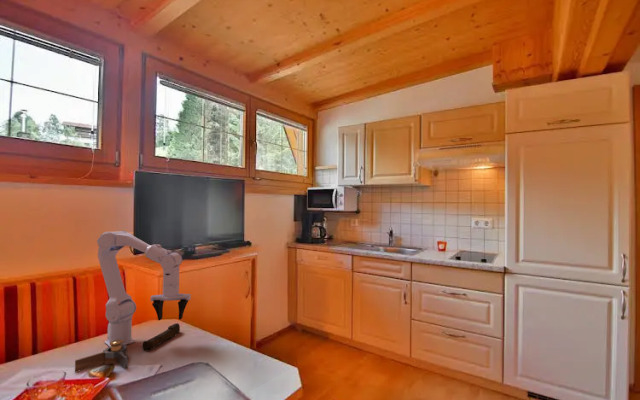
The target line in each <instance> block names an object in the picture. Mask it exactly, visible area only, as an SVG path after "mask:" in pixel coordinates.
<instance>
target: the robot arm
mask: <svg viewBox="0 0 640 400" xmlns="http://www.w3.org/2000/svg"><path fill="white" fill-rule="evenodd" d="M96 243H97V245H98V250H97V258H98V262H99V265H100V270H101V273H102V277H103V279H104V283H105V287H106V290H107V294H108V298H109V299H108V300H107V302H106V303H105V306H104V307H105V319H106V320H107V321H108V324H107V337H106V338H107V340H104V342H103V343H105V345H107V346H108V347H111V345H110V342H111V341H114V340H118V339H122V340H123V343H121V345H125V346H127V345H130V344H134V343H135V342H136V340H135V339H133V338H132V331H133V330H132V325H133V315H134V313H135V312H136V310H137V304H136V302H135V301H134V300H133V298H132V296H131V295H130V294H128V293H127V292H126V290H125V286H124V282H123V278H122V275H121V271H120V268H119V264H118V261H117V257H116V256H117V255H118V253H119V251H120V250H121V249H123V248H124V247H126V246H128V247H130V248H132V249H136V250H138V251H140V252H142V253H144V254H145V257H146V258H147V259H150V260H152V261H153V262H156V263H158V264H159V265H160V267H161V268H162V274H163V275H162V294H154V295H151V296H150V302H152V304H151V306H152V307H153V308H154V310H155V313H156V316H157V321H162V319H163V313H164V312H163V309H164V303H165V301H178V302H177V305H178V321H179V320H182V319H183V317H184V312H185V309H186V306H187V305H188V303H189V301H190V300H192V297H191V296H192V294H191V293H180V265H181V264H182V263H183V257H182V255H181V254H180V253H179V252H176V251H175V252H172V250H170V249H165V248H163V247H162V245H161V244H157V243H156V244H151V245H150V244H148V243H147V242H145V241H143V240H141V239H140V238H139V237H138V238H137V237H136V236H134V234H132V233H130V232H128V231H126V230H125V231H124V230H119V231H118V230H117V231H104V232H103V233H102V234H100V236H99V237H98V238H97V240H96Z"/></svg>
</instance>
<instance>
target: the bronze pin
mask: <svg viewBox="0 0 640 400" xmlns="http://www.w3.org/2000/svg"><path fill="white" fill-rule="evenodd" d="M121 343H123V340H122V339H118V340H114V341H111V342H110V345H111V352H113V351H117V350H121Z"/></svg>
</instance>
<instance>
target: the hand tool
mask: <svg viewBox="0 0 640 400" xmlns="http://www.w3.org/2000/svg"><path fill="white" fill-rule="evenodd" d="M180 327H181V326H180V324H179V323H174V324H171V325H170V326H168V327H167V329H166V330H164V331H162V332H160V333H159V334H157V335H155V336H153V337H152V338H149V339H147V340H144V341H143V342H142V345H141V346H142V351H143V352H144V351H145V352H150V351H152V350H153V349H155V348H156V347H157V346H158V345H160V344H162V343H164V342H165V341H167V340H170V337H173V338H174V336H175V335H176V334H177V335H178V334H180V332H181V329H180ZM177 335H176V336H177ZM176 336H175V337H176Z"/></svg>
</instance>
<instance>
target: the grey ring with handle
mask: <svg viewBox="0 0 640 400" xmlns="http://www.w3.org/2000/svg"><path fill="white" fill-rule="evenodd" d="M104 351H105V354H104V358H115V357H117V362H116V363H117V364H118V365H119V366H120V367H121V368H123V369H124V370H127V369H128V368H129V357H128V356H126V355H124V354H125V353H126V352H127V353H128V346H127V345H121V350H117V351H113V352H111V347H109V346H108V347H106V348H105V349H103V350H102V352H104Z"/></svg>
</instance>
